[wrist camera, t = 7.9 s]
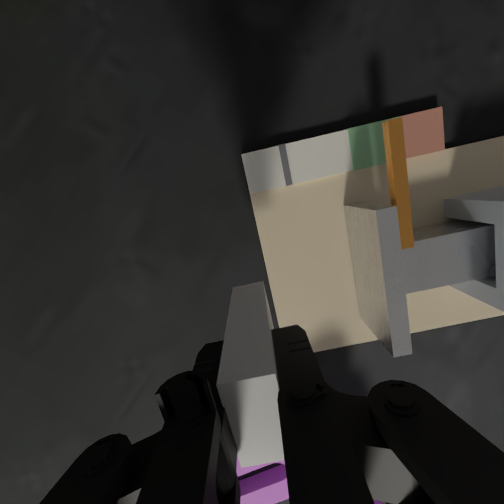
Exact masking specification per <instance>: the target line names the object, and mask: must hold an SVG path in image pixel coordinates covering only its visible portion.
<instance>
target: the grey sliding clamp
mask: <svg viewBox="0 0 504 504" xmlns="http://www.w3.org/2000/svg"><path fill="white" fill-rule="evenodd" d="M382 127H383V137H384V146H385V155H386V164H387V173H388V182H389V191H390V200H391V205H384V204H375V203H365V202H356V203H352V204H347V205H344V211H345V217H346V224H347V231H348V238H349V245H350V251H351V258H352V265H353V272H354V279H355V285H356V292H357V299H358V306H359V313H360V318H361V320H362V321H363V322H364V323H365V324H366V326H367V327H368V328H369V329H370V330H371V331H372V333H373V334H374V335H375V336H376V337H377V338H378V340H379V341H380V342H381V343H382V344H383V346H384V347H385V348H386V349H387V350H388V351H389V353H390V354H391V355H392V356H393V357H398V356H404V355H409V354H412V346H411V336H410V327H409V317H408V308H407V298H406V294H409V293H413V292H418V291H423V290H428V289H433V288H438V287H443V286H448V285H452V284H457V283H462V282H467V281H472V280H477V279H482V278H487V277H491V276H496V261H495V225H494V224H489V223H482V222H475V221H468V220H461V219H460V220H455V221H451V222H446V223H441V224H437V225H432V226H427V227H423V228H418V229H413V226H412V215H411V205H410V194H409V183H408V173H407V162H406V152H405V141H404V130H403V120H402V117H398V118H394V119H390V120H387V121H385V122H383V123H382Z"/></svg>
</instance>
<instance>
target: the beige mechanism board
mask: <svg viewBox="0 0 504 504" xmlns="http://www.w3.org/2000/svg"><path fill="white" fill-rule="evenodd" d="M399 117H402V120H403V130H404V141H405V152H406V162H407V173H408V183H409V194H410V205H411V215H412V226H413V229H418V228H423V227H427V226H432V225H437V224H441V223H446V222H451V221H455V220H460V219H461V220H468V221H475V222H482V223H489V224H494V225H495V261H496V276H491V277H487V278H482V279H477V280H472V281H467V282H462V283H457V284H452V285H448V286H443V287H438V288H433V289H428V290H423V291H418V292H413V293H409V294H406V298H407V308H408V317H409V327H410V333H415V332H420V331H425V330H430V329H435V328H440V327H445V326H450V325H455V324H460V323H465V322H470V321H475V320H480V319H485V318H490V317H495V316H501V315H504V136H501V137H497V138H492V139H488V140H483V141H479V142H475V143H470V144H466V145H462V146H457V147H453V148H448V149H445V142H444V127H443V111H442V107H438V108H433V109H429V110H425V111H421V112H416V113H412V114H408V115H404V116H399ZM395 118H398V117H395ZM391 119H394V118H391ZM387 120H390V119H387ZM387 120H382V121H378V122H374V123H370V124H365V125H361V126H357V127H353V128H348V129H347V130H343V131H338V132H334V133H330V134H326V135H321V136H317V137H313V138H309V139H304V140H300V141H296V142H292V143H287V144H281V145H278V146H275V147H270V148H266V149H262V150H258V151H253V152H249V153H245V154H241V156H242V160H243V165H244V169H245V174H246V178H247V183H248V188H249V192H250V196H251V201H252V206H253V210H254V215H255V219H256V224H257V228H258V233H259V237H260V242H261V246H262V251H263V256H264V260H265V265H266V269H267V274H268V278H269V283H270V287H271V292H272V297H273V301H274V306H275V310H276V315H277V319H278V324H279V328H282V327H287V326H292V325H299V326H300V327H301V328H303V329H304V330H305V331H306V334H307V336H308V339H309V342H310V344H311V347H312V350H313V352H319V351H324V350H329V349H334V348H339V347H344V346H349V345H354V344H359V343H364V342H369V341H374V340H378V338H377V337H376V336H375V335H374V334H373V333H372V331H371V330H370V329H369V328H368V327H367V326H366V324H365V323H364V322H363V321H362V320H361V318H360V313H359V306H358V299H357V292H356V285H355V279H354V272H353V265H352V258H351V251H350V245H349V238H348V231H347V224H346V217H345V211H344V205H347V204H352V203H356V202H365V203H375V204H384V205H391V200H390V191H389V182H388V173H387V164H386V155H385V146H384V137H383V127H382V123H383V122H385V121H387Z"/></svg>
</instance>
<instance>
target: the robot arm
mask: <svg viewBox="0 0 504 504" xmlns="http://www.w3.org/2000/svg"><path fill="white" fill-rule="evenodd" d="M155 397H156V400H157V402H158V405H159V408H160V410H161V413H162V416H163V418H164V421H165V423H164V426H163V428H162V430H161V431H159V432H157V433H155V434H154V435H152V436H150V437H147V438H145V439H143V440H141V441H139V442H137V443H135V444H132V445H131V443H130V441H129V439H128V437H127V436H126V435H123V434H120V433H119V434H113V435H109V436H106V437H104V438H102V439H100V440H98V441H96V442H95V443H94V444H92V445H91V446H89V447H88V448H87V449H86V450H85V451H84V452H83V453H82V454H81V455H80V456H79V457H78V458H77V459H76V460H75V461H74V463H73V464H72V465H71V466H70V467H69V469H68V470H67V471H66V472H65V473H64V475H63V476H62V477H61V478H60V479H59V481H58V482H57V483H56V484H55V485H54V487H53V488H52V489H51V490H50V491H49V493H48V494H47V495H46V496H45V498H44V499H43V500H42V501H41V502H40V504H240V497H241V490H240V483H239V479H238V476H237V473H236V468H237V456H238V459H239V462H240V466H241V468H244V467H249V466H255V465H261V464H266V463H272V462H277V461H283V460H285V469H286V477H287V485H288V494H289V502H290V504H375V503H374V500H377V501H382V502H386V504H504V452H502V451H501V450H500V449H498V448H497V447H496V446H495V445H493V444H492V443H491V442H490V441H488V440H487V439H486V438H485V437H483V436H482V435H481V434H480V433H478V432H477V431H476V430H475V429H473V428H472V427H471V426H470V425H468V424H467V423H466V422H465V421H463V420H462V419H461V418H460V417H458V416H457V415H456V414H455V413H453V412H452V411H451V410H450V409H448V408H447V407H446V406H445V405H443V404H442V403H441V402H440V401H438V400H437V399H436V398H435V397H433V396H432V395H431V394H430V393H428V392H427V391H425V390H424V389H422V388H420V387H419V386H417V385H415V384H412V383H409V382H405V381H398V380H389V381H384V382H380V383H378V384H377V385H375V386H374V387H372V389H371V391H370V393H369V394H368V397H364V396H353V395H347V394H343V393H340V392H338V391H336V390H334V389H332V388H331V387H330V386H329V385H328V384H327V383H326V382H325V380H324V379H323V377H322V374H321V371H320V368H319V366H318V363H317V360H316V358H315V355H314V352H313V350H312V347H311V344H310V342H309V339H308V336H307V334H306V331H305V330H304V329H303V328H301V327H300V326H299V325H292V326H287V327H282V328H277V329H274V327H273V322H272V318H271V313H270V309H269V305H268V300H267V296H266V291H265V287H264V282H263V281H261V282H256V283H252V284H247V285H242V286H238V287H233V289H232V295H231V301H230V307H229V313H228V319H227V325H226V331H225V337H224V340H223V341H218V342H213V343H208V344H205V346H204V347H203V348H202V349H201V350H200V352H199V353H198V355H197V358H196V361H195V365H194V368H193V371H186V372H183V373H180V374H177V375H175V376H174V377H172V378H170V379H168V380H167V381H166V382H165V383H164V384H163V385H161V386H160V388H159V389H158V391H157V392H156V394H155Z"/></svg>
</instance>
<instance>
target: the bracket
mask: <svg viewBox="0 0 504 504" xmlns="http://www.w3.org/2000/svg"><path fill="white" fill-rule="evenodd" d="M272 463H281V465H279V466H276V467H274V468H271V469H269V470H266V471H263V472H261V473H258V474H256V475H253V476H250V477H248V478H245V479H243V480H240V481H239V483H240V490H241V497H240V504H275V503H278V502H281V501H283V500H286V499H289V494H288V485H287V477H286V469H285V460H283V461H277V462H272ZM272 463H266V464H261V465H255V466H249V467H244V468H241V466H240V462H239V459H238V456H237V468H236V473H237V476H241V475H244V474H246V473H249V472H251V471H254V470H257V469H259V468H262V467H264V466H267V465H270V464H272ZM374 503H375V504H383V503H382V501H377V500H374Z"/></svg>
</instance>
